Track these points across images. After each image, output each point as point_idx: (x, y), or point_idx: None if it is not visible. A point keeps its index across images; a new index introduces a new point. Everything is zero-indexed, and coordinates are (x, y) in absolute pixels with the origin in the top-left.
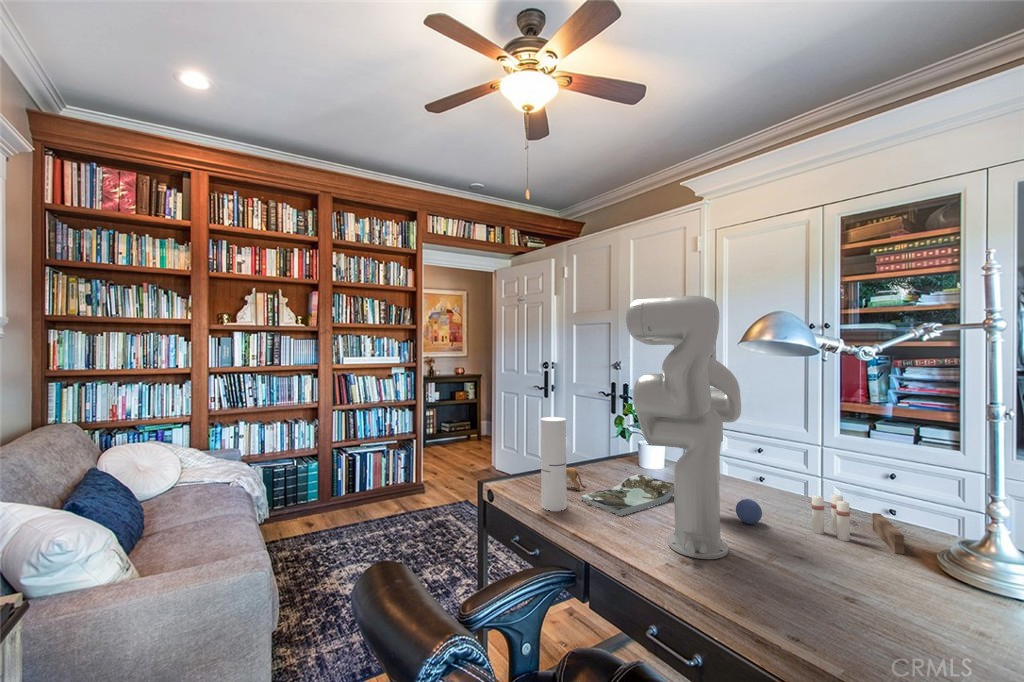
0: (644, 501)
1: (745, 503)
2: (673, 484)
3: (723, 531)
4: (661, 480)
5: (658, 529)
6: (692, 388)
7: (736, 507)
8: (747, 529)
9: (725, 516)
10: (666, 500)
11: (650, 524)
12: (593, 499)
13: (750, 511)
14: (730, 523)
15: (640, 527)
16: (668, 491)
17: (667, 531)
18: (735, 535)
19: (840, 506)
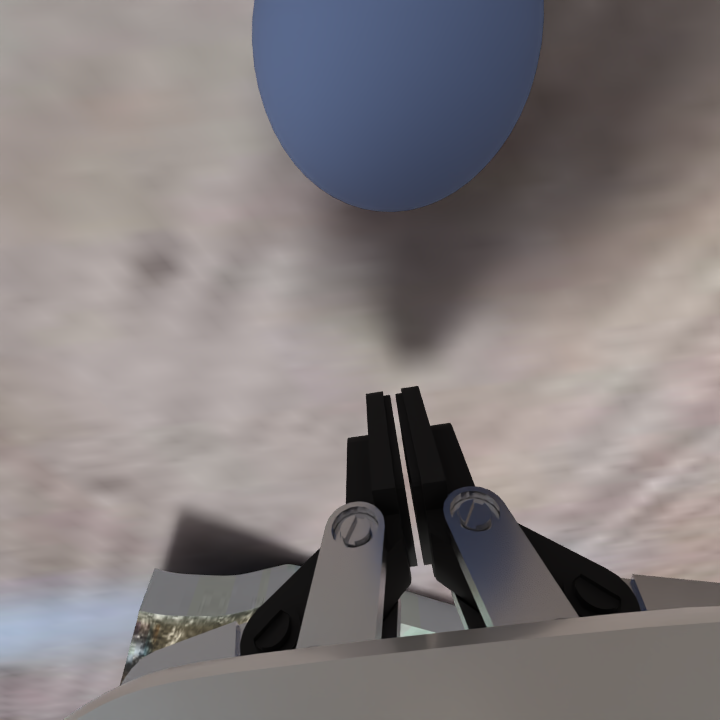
0: (412, 635)
1: (496, 72)
2: (154, 625)
3: (641, 256)
4: (127, 666)
5: (687, 528)
6: None
7: (432, 201)
8: (544, 86)
9: (327, 282)
10: (290, 570)
11: (628, 559)
12: None
13: (543, 10)
14: (458, 232)
15: (677, 578)
16: (251, 609)
17: (707, 498)
18: (706, 166)
19: None
